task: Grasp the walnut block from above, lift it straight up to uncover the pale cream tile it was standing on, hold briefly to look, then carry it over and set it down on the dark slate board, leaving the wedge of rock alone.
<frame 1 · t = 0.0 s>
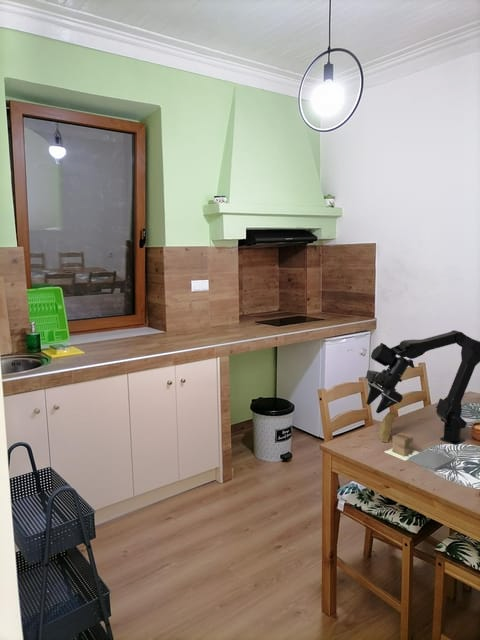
hand: (372, 408, 167), 15 cm above the table, tool tilted 35°, fingers open, 9 cm apart
rock: (383, 437, 178), on the table
slate board: (431, 461, 157), on the table
pale cream tile: (402, 452, 164), on the table
block: (402, 452, 164), resting on pale cream tile
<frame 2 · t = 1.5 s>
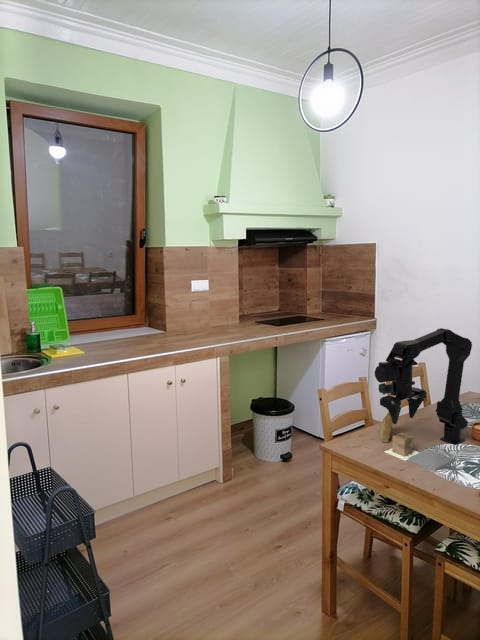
hand: (403, 420, 162), 12 cm above the table, tool pointing down, fingers open, 9 cm apart
nothing on the table moved.
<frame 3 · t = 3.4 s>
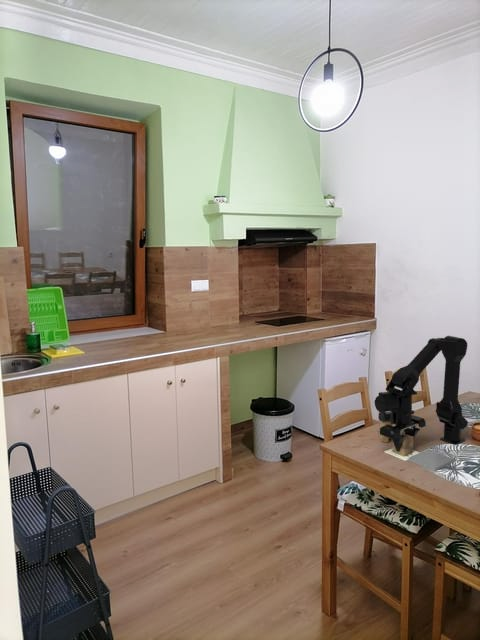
hand: (402, 449, 164), 1 cm above the table, tool pointing down, fingers closed on block, 5 cm apart
block: (402, 452, 164), resting on pale cream tile, touching gripper
everything else where it was.
when the fingers open (4 cm above the table, at t = 8.6 s): block drops 2 cm, resting on slate board.
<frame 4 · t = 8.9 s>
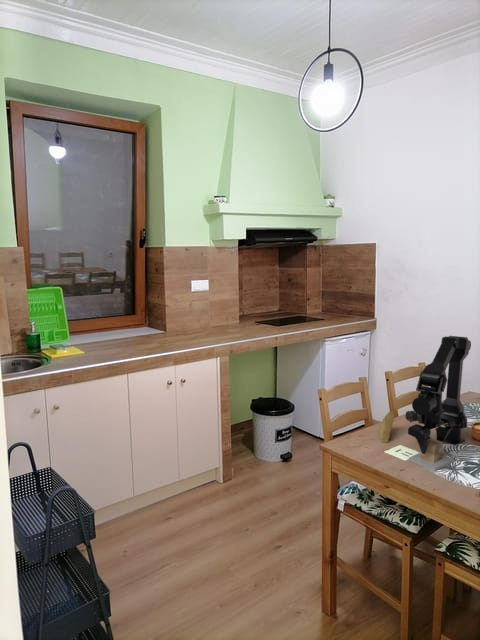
hand: (431, 450, 156), 4 cm above the table, tool pointing down, fingers open, 9 cm apart
block: (431, 458, 157), point 1 cm above the table, touching slate board
everything else where it was.
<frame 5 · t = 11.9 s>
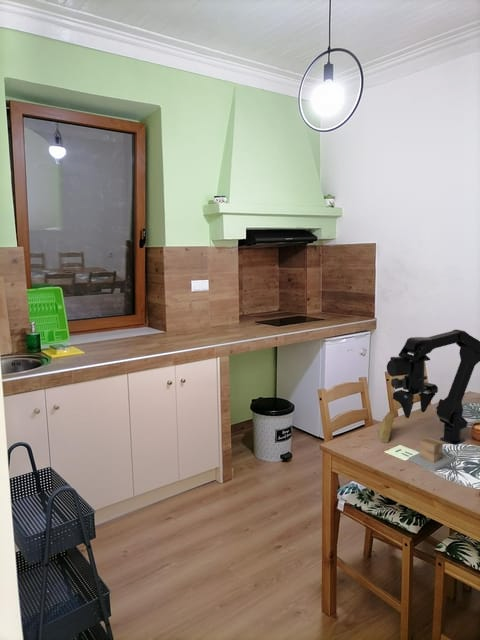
hand: (415, 414, 166), 13 cm above the table, tool pointing down, fingers open, 9 cm apart
nothing on the table moved.
at the end: block inside the target area on the slate board (0.1 cm from its centre), point 1.0 cm above the slate board's base; block tilted 0°; the gripper is holding nothing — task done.
